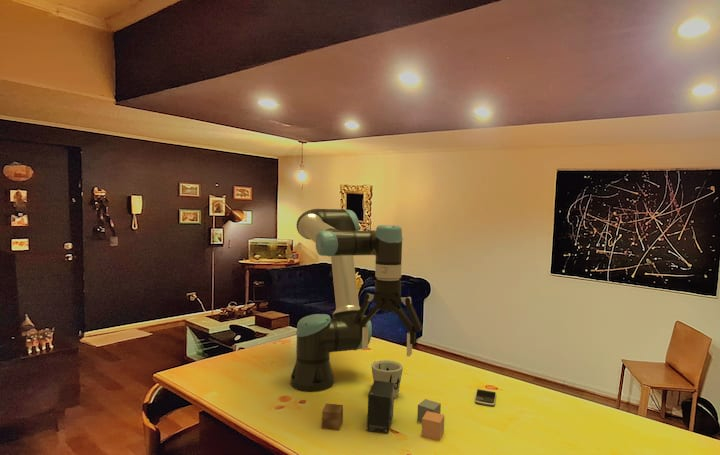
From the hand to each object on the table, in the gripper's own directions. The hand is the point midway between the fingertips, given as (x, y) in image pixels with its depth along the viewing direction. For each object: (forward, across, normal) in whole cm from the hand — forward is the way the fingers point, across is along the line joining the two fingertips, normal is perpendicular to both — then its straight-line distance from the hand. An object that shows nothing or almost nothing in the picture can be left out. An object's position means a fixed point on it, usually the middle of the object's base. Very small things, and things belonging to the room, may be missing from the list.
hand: (386, 351), depth 124 cm
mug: (+20, -7, +18) cm, 28 cm away
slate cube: (+20, +11, +6) cm, 24 cm away
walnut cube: (+20, -13, -9) cm, 26 cm away
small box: (+21, -1, -2) cm, 21 cm away
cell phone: (+21, +25, +29) cm, 43 cm away
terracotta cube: (+21, +14, -1) cm, 25 cm away
